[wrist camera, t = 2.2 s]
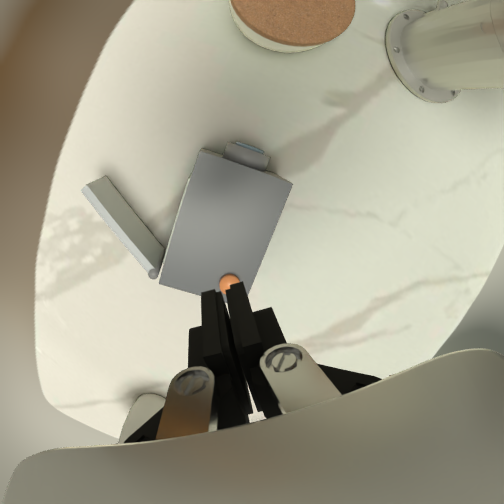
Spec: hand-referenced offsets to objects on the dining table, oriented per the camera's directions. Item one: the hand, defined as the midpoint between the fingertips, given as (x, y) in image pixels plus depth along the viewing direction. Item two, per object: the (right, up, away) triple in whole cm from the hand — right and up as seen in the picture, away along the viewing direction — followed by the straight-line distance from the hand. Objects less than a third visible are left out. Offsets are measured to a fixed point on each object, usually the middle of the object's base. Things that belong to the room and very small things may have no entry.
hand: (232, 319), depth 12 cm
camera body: (-3, +6, +20) cm, 21 cm away
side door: (-12, +6, +18) cm, 23 cm away
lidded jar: (+3, +27, +13) cm, 30 cm away
